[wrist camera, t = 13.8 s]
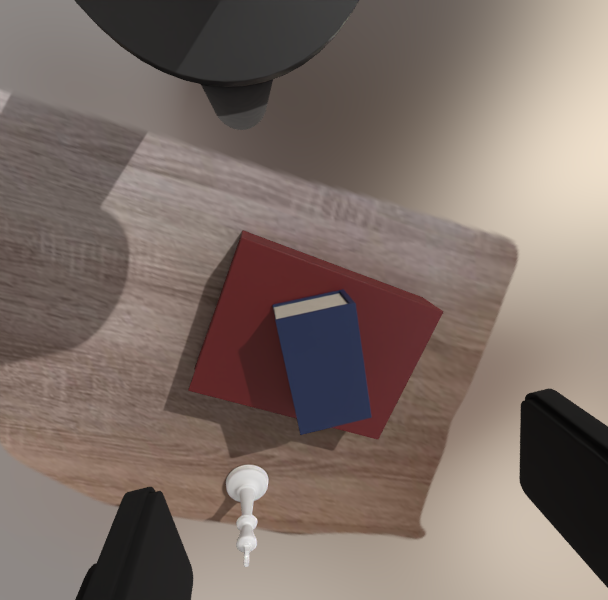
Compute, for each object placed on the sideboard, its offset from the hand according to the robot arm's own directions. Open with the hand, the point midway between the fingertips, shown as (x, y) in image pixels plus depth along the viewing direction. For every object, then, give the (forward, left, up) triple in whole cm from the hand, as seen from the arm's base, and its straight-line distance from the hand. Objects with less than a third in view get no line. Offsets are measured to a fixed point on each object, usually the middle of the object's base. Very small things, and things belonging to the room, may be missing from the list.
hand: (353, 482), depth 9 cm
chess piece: (+26, +6, -28) cm, 39 cm away
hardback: (+6, +6, -28) cm, 30 cm away
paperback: (+6, +6, -24) cm, 25 cm away
